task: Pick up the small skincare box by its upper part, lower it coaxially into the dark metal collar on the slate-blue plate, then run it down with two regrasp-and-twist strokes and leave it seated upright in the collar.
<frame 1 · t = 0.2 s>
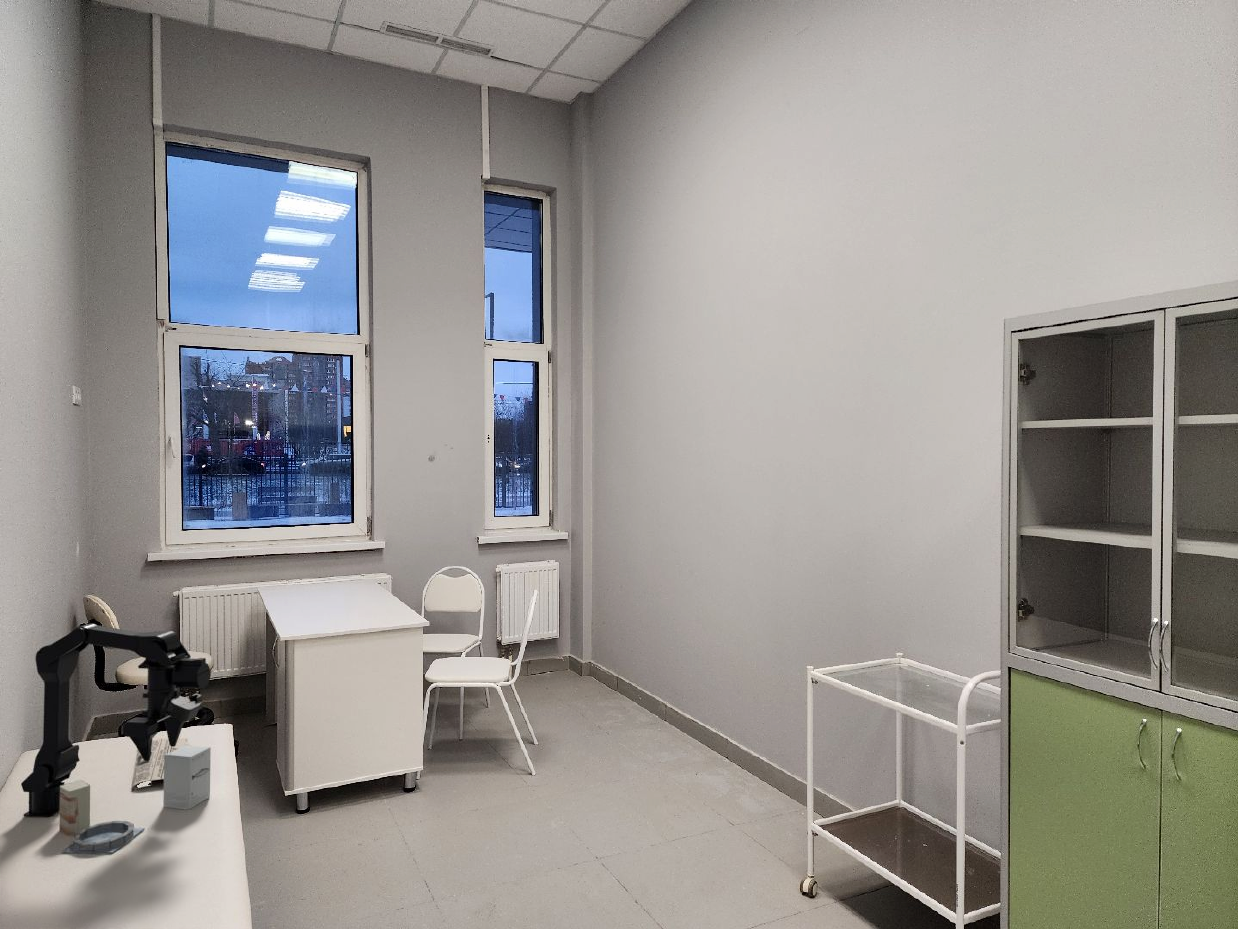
hand: (160, 753, 186), 14 cm above the table, fingers open, 9 cm apart
collar: (104, 841, 172), on the table
newspaper: (162, 767, 216), on the table
skincare box: (74, 831, 178), on the table
supplement box: (187, 803, 192), on the table
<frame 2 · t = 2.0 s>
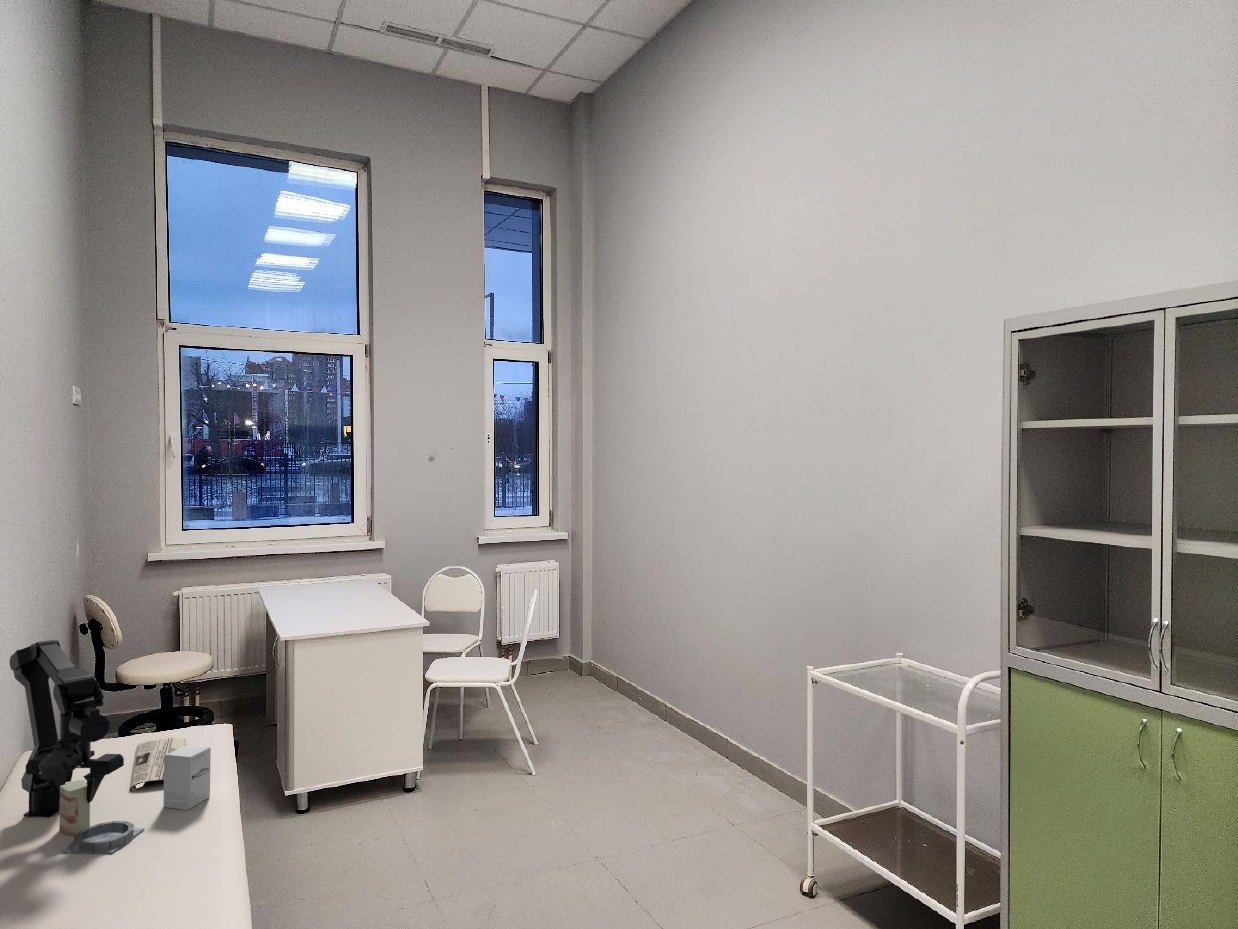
hand: (75, 802, 178), 6 cm above the table, fingers closed on skincare box, 6 cm apart
skincare box: (74, 830, 178), on the table, touching gripper
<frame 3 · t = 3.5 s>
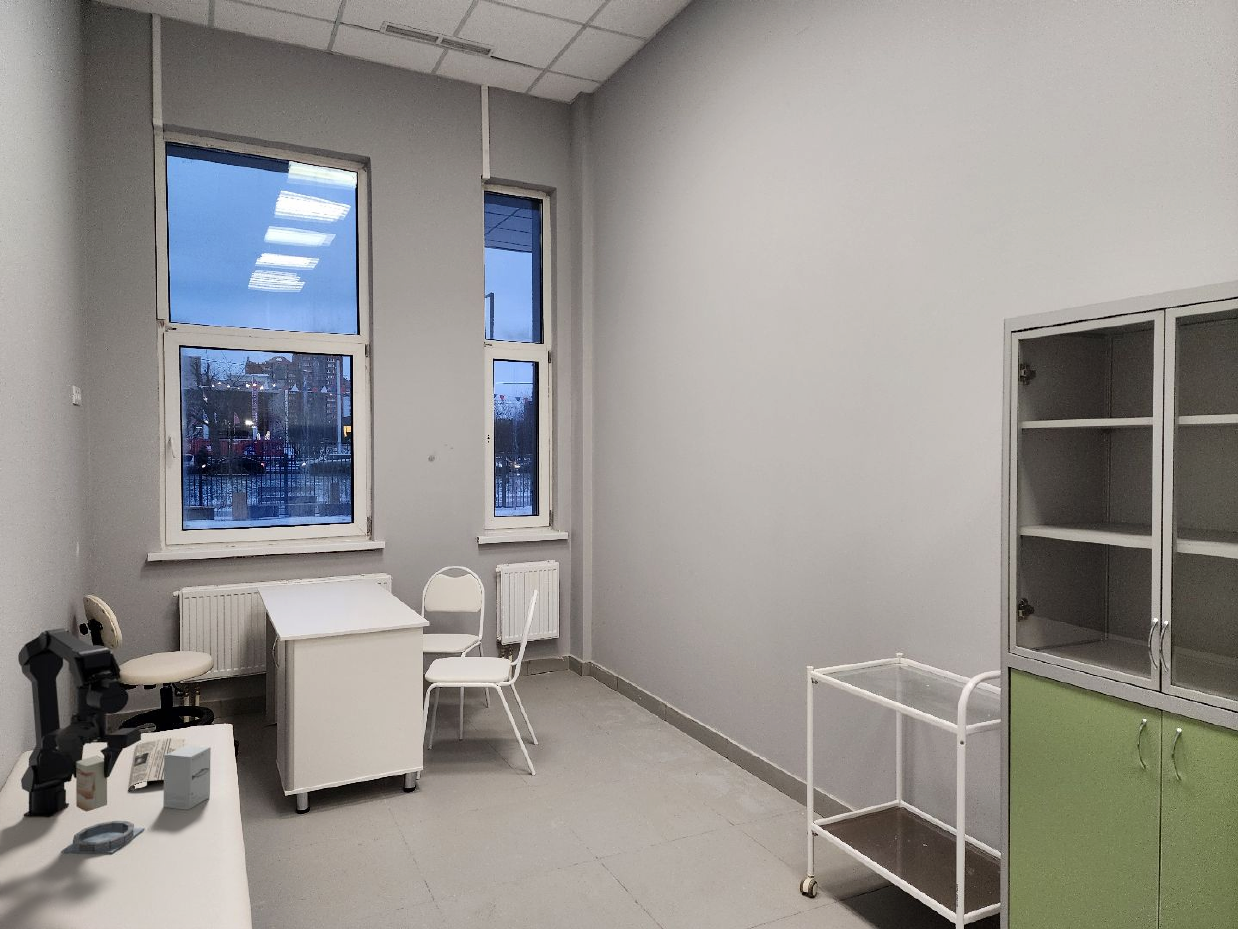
hand: (92, 777, 175), 13 cm above the table, fingers closed on skincare box, 6 cm apart
skincare box: (91, 807, 174), point 6 cm above the table, touching gripper
when the fingers open (7 cm above the table, at t = 5.2 s): skincare box stays where it is, resting on collar.
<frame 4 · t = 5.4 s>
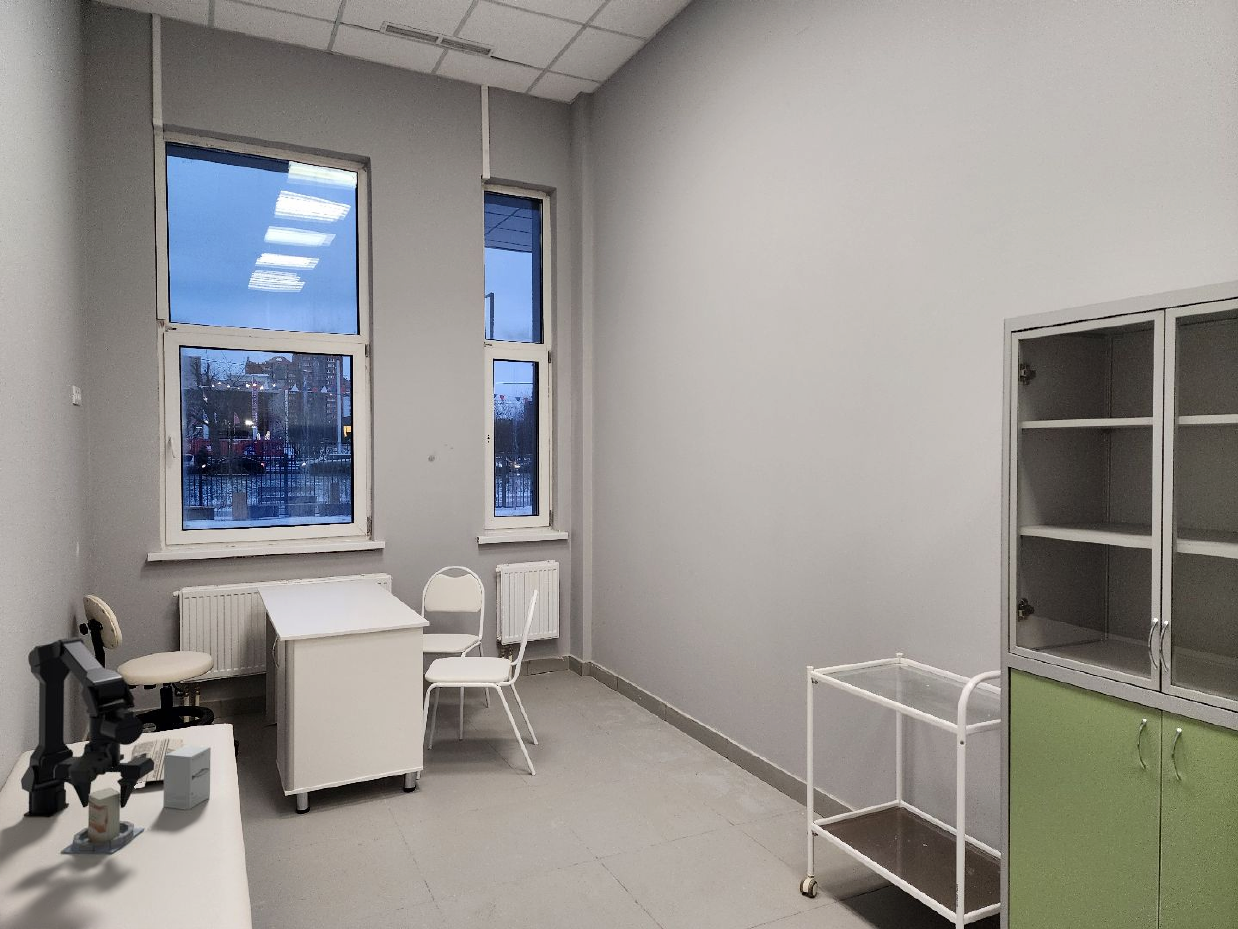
hand: (104, 807, 173), 7 cm above the table, fingers open, 8 cm apart
skincare box: (103, 840, 173), resting on collar
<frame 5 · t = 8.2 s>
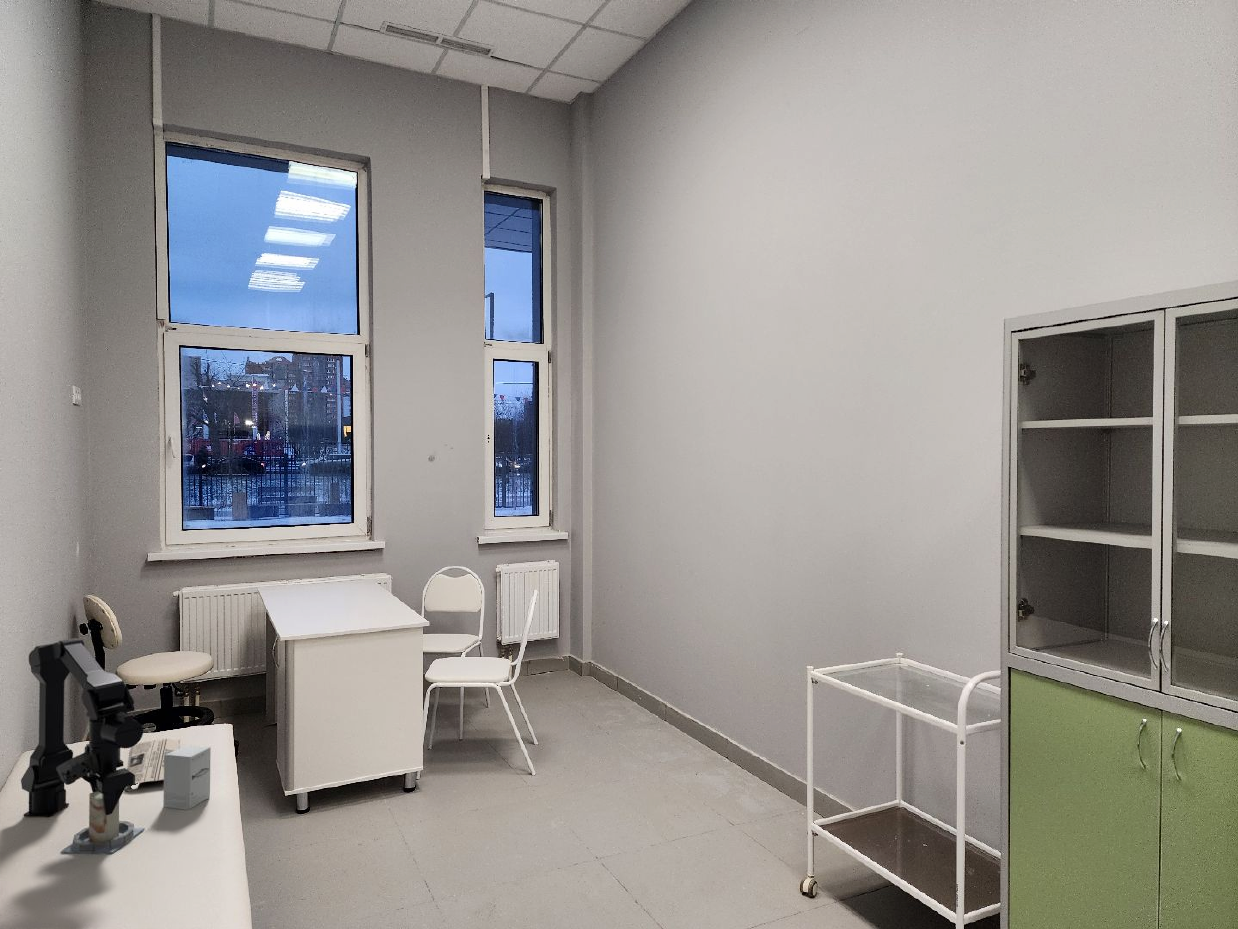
hand: (104, 810, 172), 7 cm above the table, fingers open, 5 cm apart
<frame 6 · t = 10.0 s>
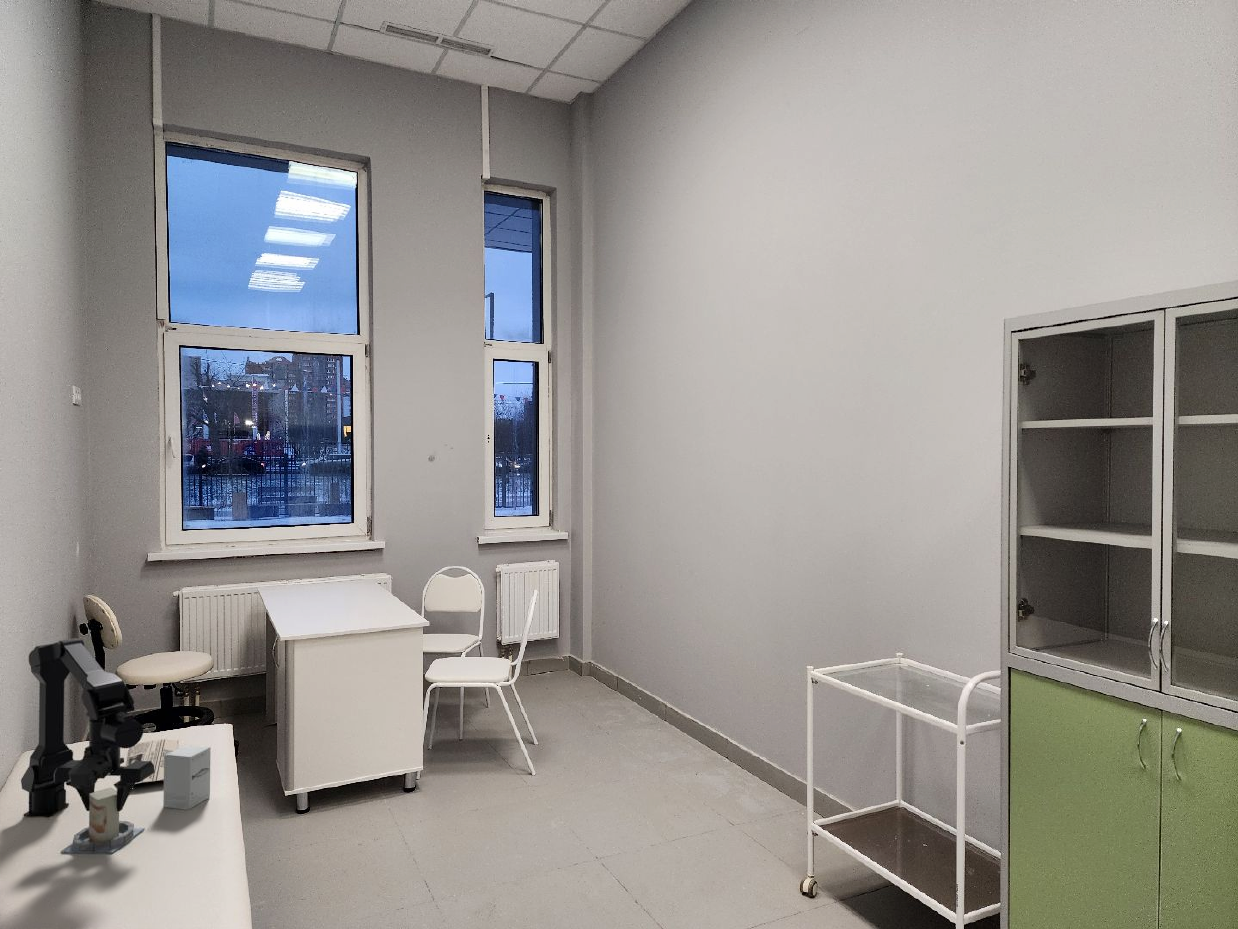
hand: (104, 810, 173), 7 cm above the table, fingers closed on skincare box, 6 cm apart
skincare box: (103, 840, 172), resting on collar, touching gripper
when the fingers open (7 cm above the table, at t = 11.4 s): skincare box stays where it is, resting on collar.
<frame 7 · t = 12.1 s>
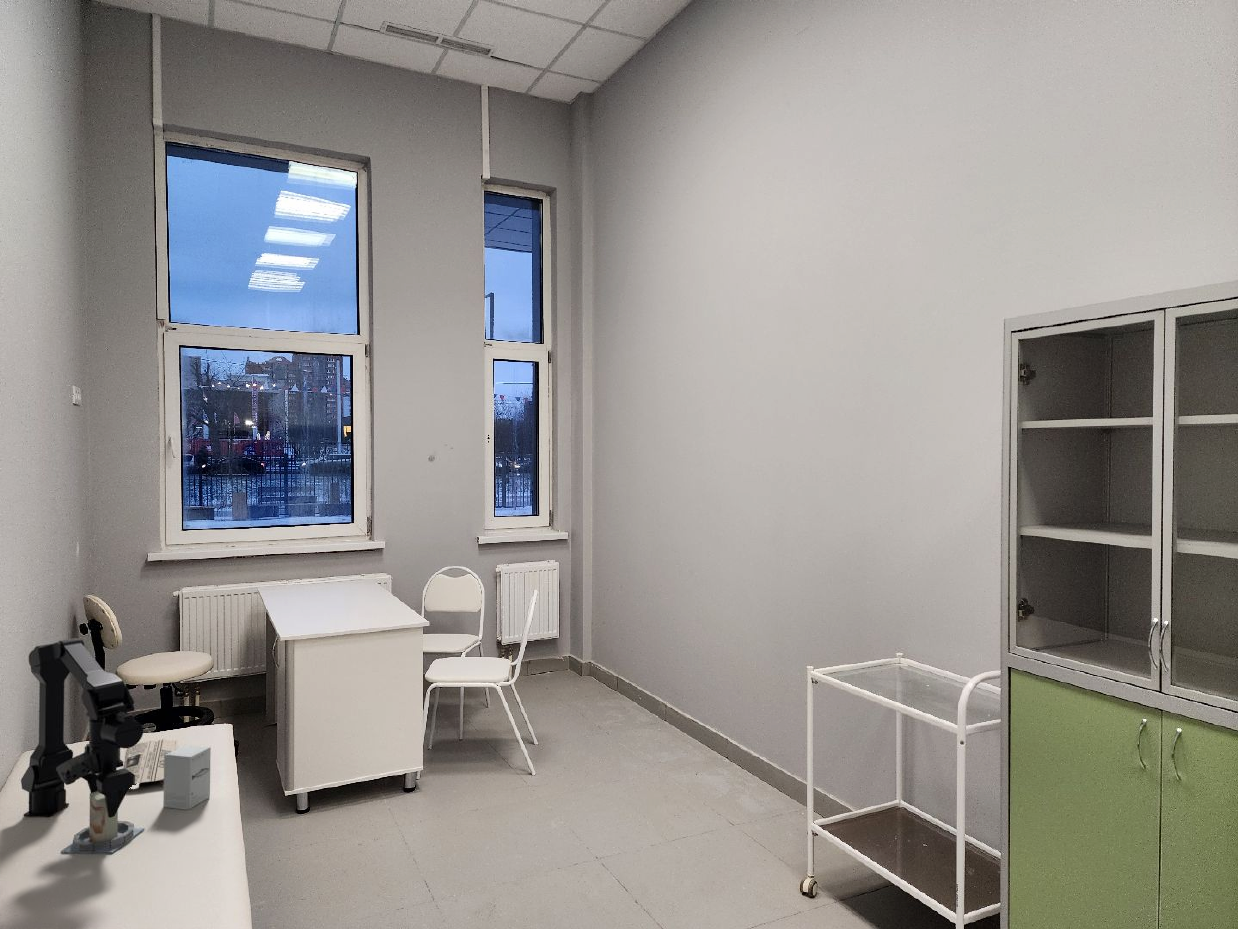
hand: (104, 810, 172), 7 cm above the table, fingers open, 9 cm apart
skincare box: (103, 840, 172), resting on collar
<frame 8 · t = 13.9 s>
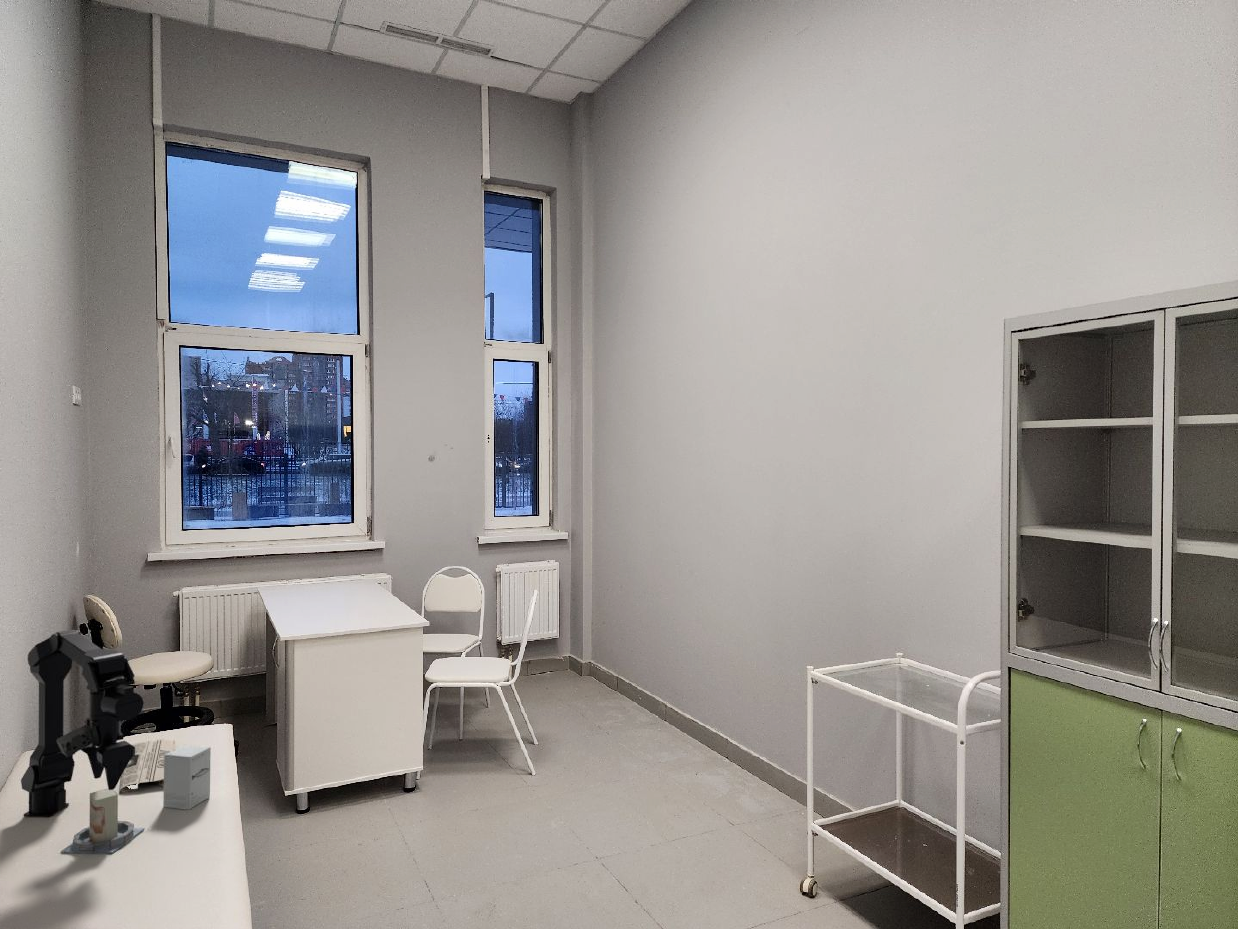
hand: (104, 783, 172), 12 cm above the table, fingers open, 9 cm apart
at the end: skincare box 0.2 cm from the collar (horizontally); skincare box tilted 0°; the gripper is holding nothing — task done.
